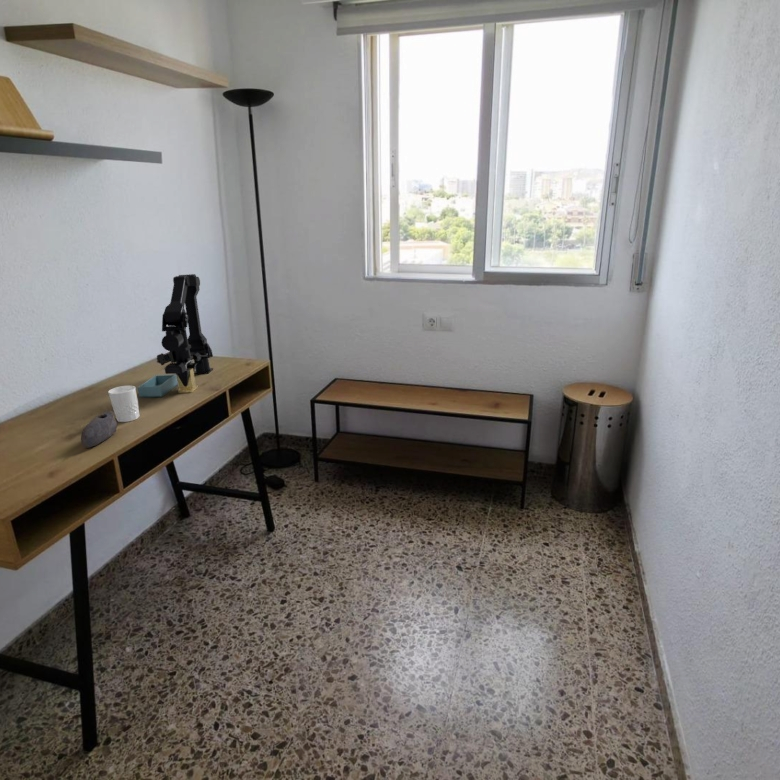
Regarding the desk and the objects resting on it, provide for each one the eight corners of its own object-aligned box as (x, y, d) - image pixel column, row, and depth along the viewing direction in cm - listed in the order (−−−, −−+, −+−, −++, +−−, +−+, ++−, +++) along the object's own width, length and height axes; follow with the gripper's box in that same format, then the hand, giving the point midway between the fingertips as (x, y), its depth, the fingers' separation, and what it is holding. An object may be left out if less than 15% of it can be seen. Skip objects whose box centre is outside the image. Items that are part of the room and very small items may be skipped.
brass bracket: (185, 387, 199) (181, 367, 196) (198, 387, 199) (194, 366, 196) (178, 392, 193) (174, 372, 191) (191, 392, 193) (188, 371, 190)
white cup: (131, 423, 167) (124, 393, 163) (109, 422, 168) (102, 393, 165) (146, 414, 174) (140, 385, 171) (125, 413, 175) (119, 385, 172)
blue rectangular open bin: (157, 385, 203) (155, 375, 202) (178, 384, 203) (176, 374, 202) (139, 397, 190) (137, 387, 189) (161, 397, 190) (159, 386, 188)
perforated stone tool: (93, 452, 147) (87, 429, 145) (75, 452, 148) (69, 429, 146) (124, 430, 162) (119, 409, 159) (108, 430, 162) (103, 409, 160)
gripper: (169, 338, 199) (176, 377, 205) (146, 351, 182) (154, 394, 187) (198, 337, 199) (204, 376, 204) (177, 350, 181) (185, 393, 186)
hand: (187, 384), depth 195 cm, fingers closed on brass bracket, 3 cm apart
